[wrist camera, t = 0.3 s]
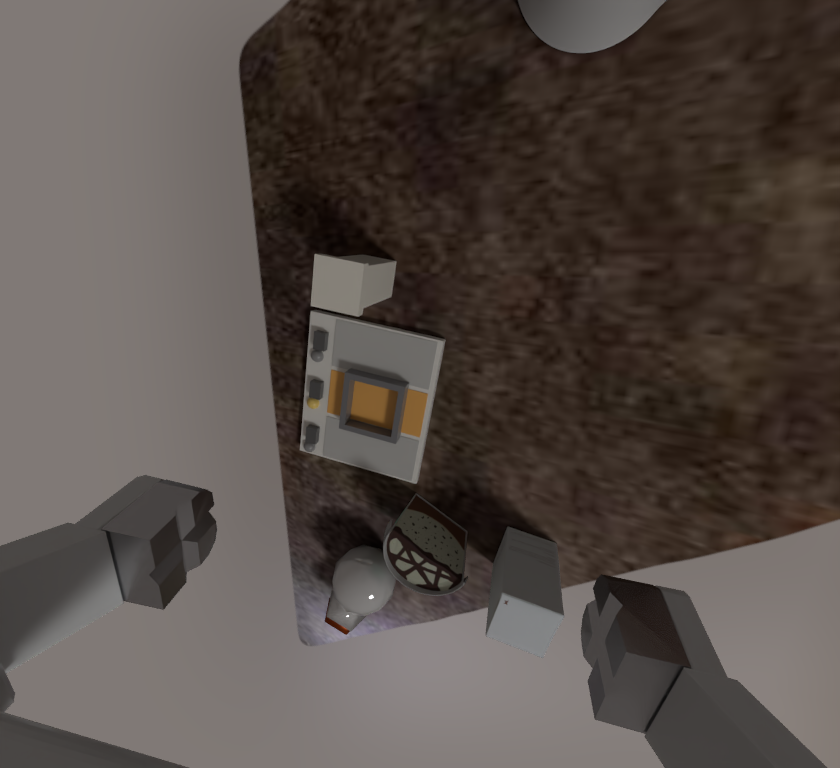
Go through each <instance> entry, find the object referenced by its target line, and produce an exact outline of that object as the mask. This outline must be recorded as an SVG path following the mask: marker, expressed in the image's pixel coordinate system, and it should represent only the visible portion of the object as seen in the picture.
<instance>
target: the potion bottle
mask: <svg viewBox="0 0 840 768" xmlns="http://www.w3.org/2000/svg"><path fill="white" fill-rule="evenodd" d="M395 582H396V578H395V577H394V576H393V575H392V573H391V572H390V570H389V569H388V567H387V565H386V562H385V559H384V554H383V551H382V550H381V549H380V548H376V547H372V546H368V545H361V546H358V547H356V548H353V549H350V550H349V551H348V552H347V553H346V554H345V555H344V556H343V557H341V558H340V559H339V560H338V561H337V562H336V566H335V571H334V576H333V581H332V583H333V590H332V591H331V596H330V598H329V603H328V608H327V613H326V618H325V622H326V623H328V624H330V625H331V626H333V627H334V628H336V629H338V630H339V631H341V632H342V633H344V634H346V635H347V634H348V633H349V632H350V631H352V630H353V629H354V628H355V627H356V626H357V625H358V624H359V623H360V622H361V621H362V620H363V619H364V618H365V617H366V616H367V615H369V614H371V613H374V612H376V611H378V610H380V609H381V608H382V607H383V606H384V605H385V604H386V603H387V602H388V601H389V600H390V599H391V598H392V597H393V592H394V587H395Z"/></svg>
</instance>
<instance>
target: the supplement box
mask: <svg viewBox="0 0 840 768" xmlns="http://www.w3.org/2000/svg"><path fill="white" fill-rule="evenodd" d="M563 618H564V611H563V603H562V593H561V582H560V571H559V560H558V551H557V543H555V542H552V541H549V540H546V539H543V538H540V537H537V536H534V535H531V534H528V533H526V532H523V531H520V530H517V529H514V528H511V527H508V526H507V529H506V531H505V534H504V536H503V539H502V542H501V544H500V547H499V549H498V552H497V555H496V557H495V560H494V563H493V570H492V579H491V589H490V598H489V607H488V617H487V627H486V636H487V637H489V638H492V639H495V640H497V641H500V642H502V643H505V644H508V645H510V646H513V647H515V648H518V649H521V650H523V651H526V652H528V653H531V654H534V655H536V656H538V657H541V658H543V657H544V655H545V653H546V651H547V648H548V646H549V644H550V642H551V640H552V639H553V637H554V635H555V633H556V631H557V629H558V627H559V625H560V623H561V622H562V620H563Z"/></svg>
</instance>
